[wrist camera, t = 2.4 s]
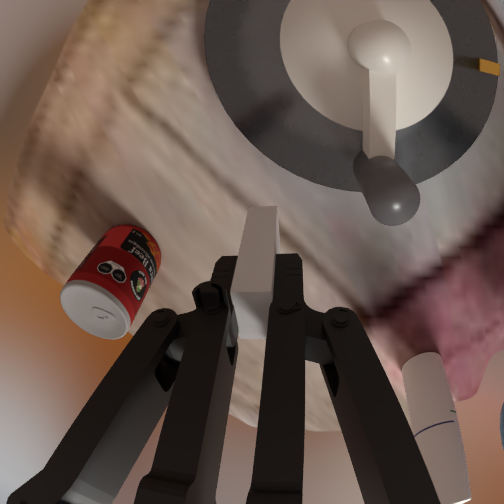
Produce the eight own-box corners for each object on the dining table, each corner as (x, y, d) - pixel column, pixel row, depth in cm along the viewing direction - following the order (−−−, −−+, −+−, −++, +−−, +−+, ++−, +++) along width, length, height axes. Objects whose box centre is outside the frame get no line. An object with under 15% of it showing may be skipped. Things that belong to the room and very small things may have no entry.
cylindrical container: (414, 350, 42) (441, 506, 22) (448, 352, 42) (481, 494, 22) (394, 376, 47) (410, 517, 26) (427, 377, 47) (449, 508, 26)
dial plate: (474, -48, 12) (486, -52, 10) (475, 187, 27) (485, 196, 25) (196, -67, 16) (188, -75, 14) (229, 187, 31) (225, 197, 29)
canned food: (171, 273, 38) (140, 342, 29) (117, 275, 40) (80, 337, 31) (151, 218, 34) (107, 283, 25) (95, 225, 35) (47, 284, 26)
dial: (271, -31, 17) (263, -62, 11) (440, -17, 15) (488, -30, 8) (290, 182, 27) (290, 227, 21) (438, 183, 25) (475, 225, 19)
